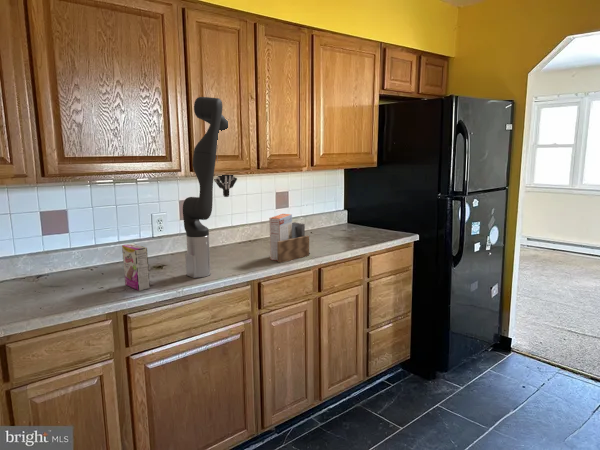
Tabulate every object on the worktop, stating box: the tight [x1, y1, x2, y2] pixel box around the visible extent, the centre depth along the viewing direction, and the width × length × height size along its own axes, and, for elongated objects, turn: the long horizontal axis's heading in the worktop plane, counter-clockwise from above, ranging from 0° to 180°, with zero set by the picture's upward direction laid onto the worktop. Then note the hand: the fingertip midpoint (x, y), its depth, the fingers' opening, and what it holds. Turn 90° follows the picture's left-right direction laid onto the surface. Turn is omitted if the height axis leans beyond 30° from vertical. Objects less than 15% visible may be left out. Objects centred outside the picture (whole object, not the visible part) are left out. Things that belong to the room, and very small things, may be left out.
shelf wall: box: [277, 235, 310, 264], centre depth 208 cm, size 20×2×10 cm, turn 135°
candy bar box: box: [121, 242, 151, 292], centre depth 166 cm, size 11×5×16 cm, turn 48°
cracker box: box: [269, 213, 293, 262], centre depth 210 cm, size 14×6×21 cm, turn 156°
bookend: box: [292, 222, 311, 255], centre depth 217 cm, size 6×7×16 cm
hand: (226, 196), depth 217 cm, fingers closed
